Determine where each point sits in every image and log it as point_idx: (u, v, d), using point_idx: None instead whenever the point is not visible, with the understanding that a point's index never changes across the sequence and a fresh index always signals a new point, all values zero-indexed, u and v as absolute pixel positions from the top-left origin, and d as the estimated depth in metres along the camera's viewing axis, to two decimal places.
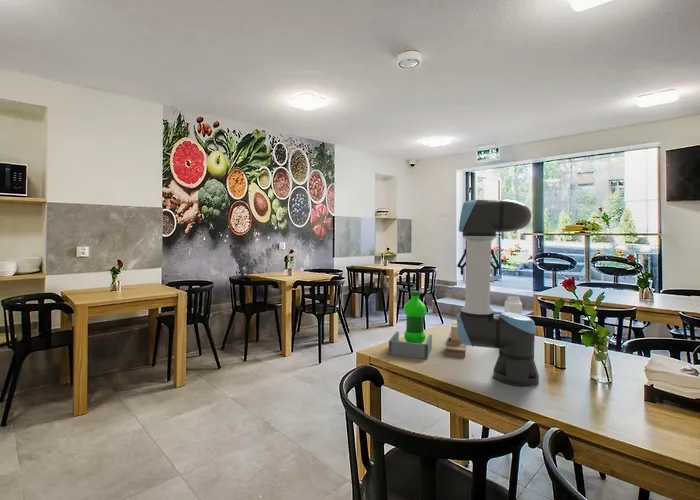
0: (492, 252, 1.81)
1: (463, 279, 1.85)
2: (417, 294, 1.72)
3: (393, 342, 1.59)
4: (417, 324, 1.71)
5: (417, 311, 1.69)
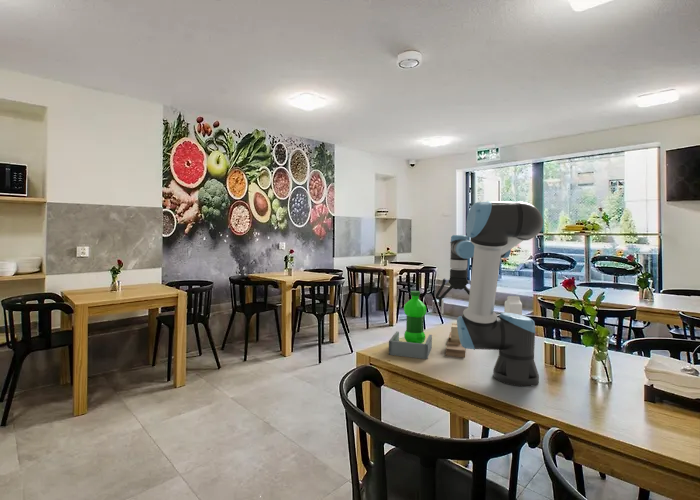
0: None
1: (441, 311, 1.72)
2: (417, 294, 1.72)
3: (393, 342, 1.59)
4: (417, 324, 1.71)
5: (417, 311, 1.69)
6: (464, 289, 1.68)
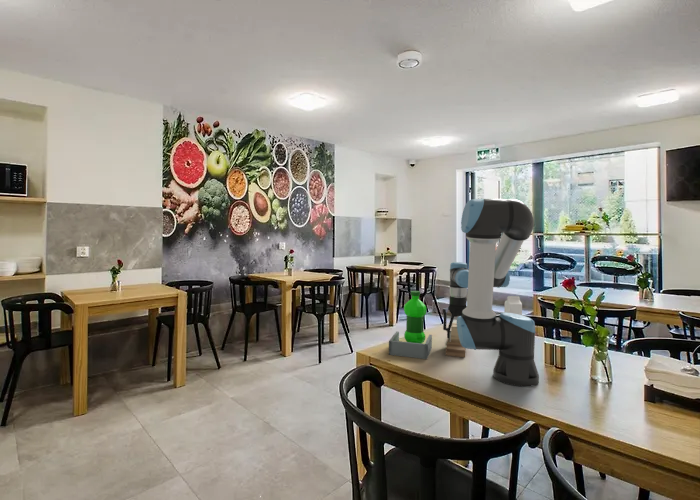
0: None
1: None
2: (417, 294, 1.72)
3: (393, 342, 1.59)
4: (417, 324, 1.71)
5: (417, 311, 1.69)
6: None
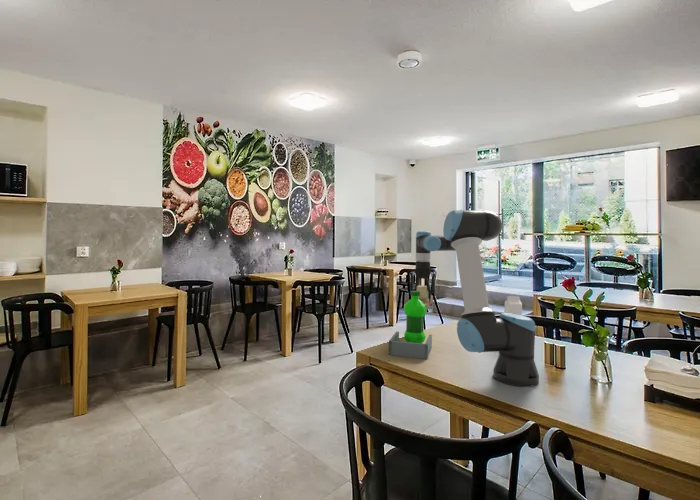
0: (433, 276, 1.93)
1: None
2: (417, 294, 1.72)
3: (393, 342, 1.59)
4: (417, 324, 1.71)
5: (417, 311, 1.69)
6: (425, 279, 1.94)
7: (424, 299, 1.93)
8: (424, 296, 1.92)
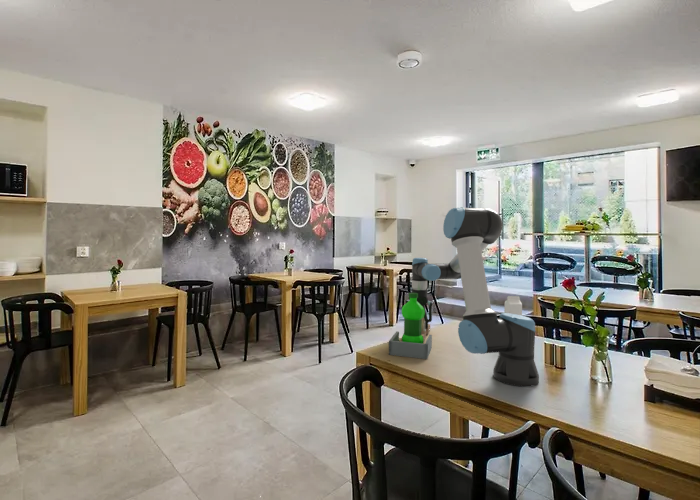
0: (430, 305, 1.83)
1: None
2: (415, 296, 1.66)
3: (393, 342, 1.59)
4: (415, 327, 1.65)
5: (415, 314, 1.64)
6: None
7: None
8: None
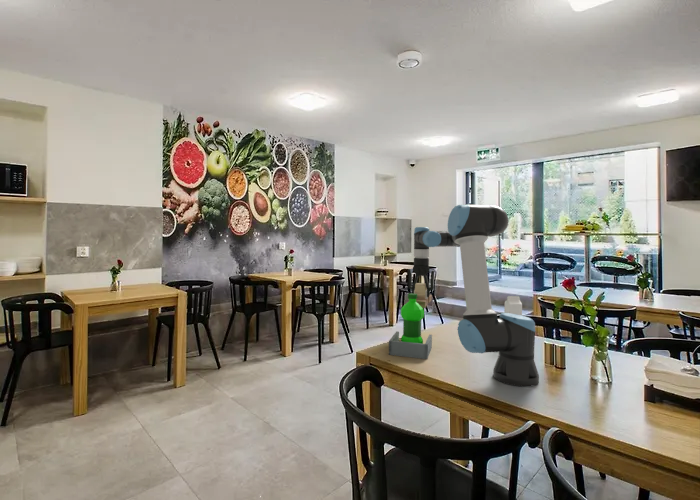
0: (432, 273, 1.86)
1: None
2: (414, 297, 1.65)
3: (393, 342, 1.59)
4: (414, 328, 1.64)
5: (414, 315, 1.62)
6: (423, 276, 1.87)
7: (423, 296, 1.86)
8: (423, 293, 1.86)
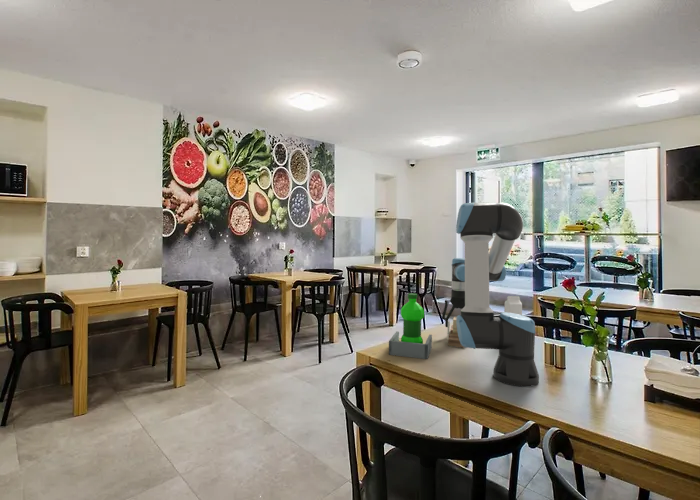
0: None
1: (448, 332, 1.85)
2: (414, 297, 1.65)
3: (393, 342, 1.59)
4: (414, 328, 1.64)
5: (414, 315, 1.62)
6: None
7: None
8: None
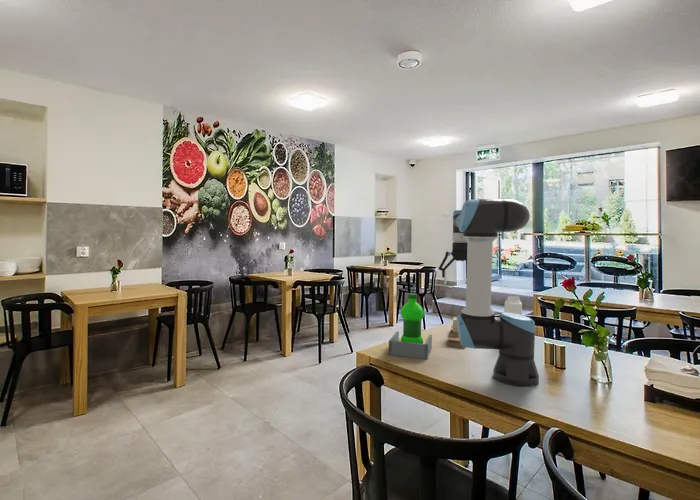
0: None
1: (444, 282, 1.84)
2: (414, 297, 1.65)
3: (393, 342, 1.59)
4: (414, 328, 1.64)
5: (414, 315, 1.62)
6: (466, 260, 1.80)
7: None
8: None
